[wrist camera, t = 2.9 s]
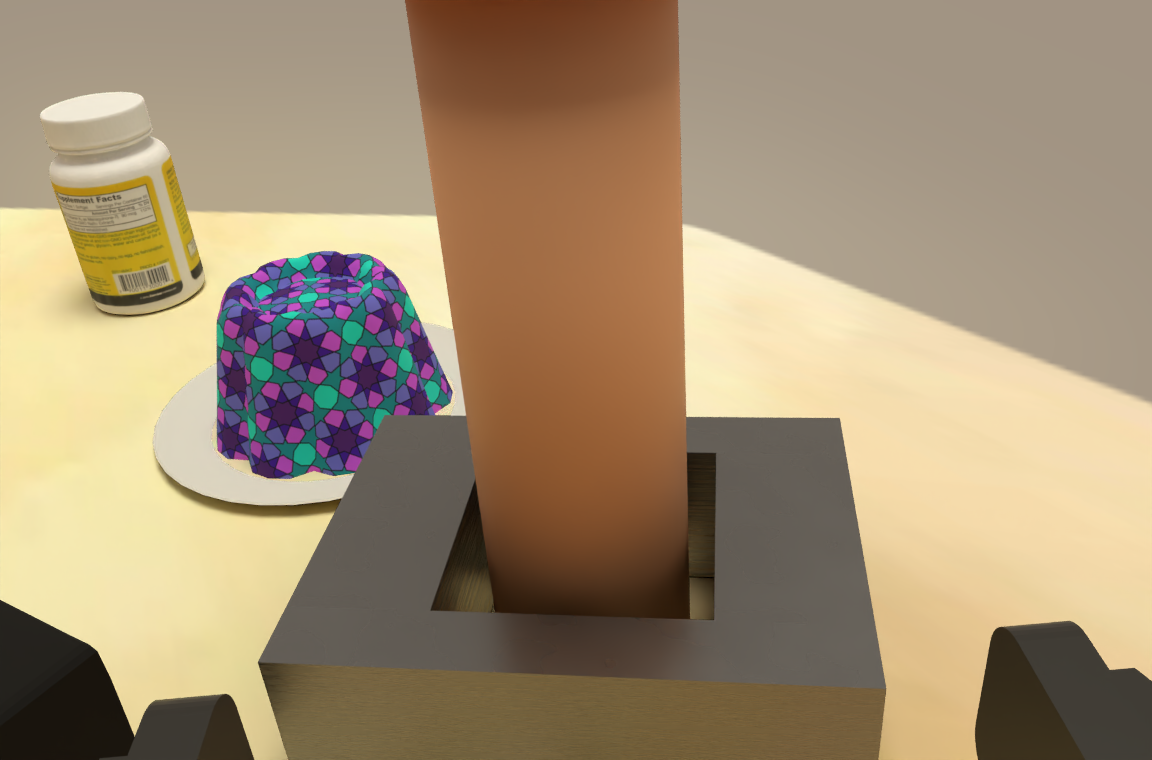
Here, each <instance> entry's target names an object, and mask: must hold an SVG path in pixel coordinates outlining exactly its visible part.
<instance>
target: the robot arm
mask: <svg viewBox="0 0 1152 760" xmlns="http://www.w3.org/2000/svg"><path fill="white" fill-rule="evenodd" d="M975 742H976V751H977V756H978V760H1152V681H1151V680H1149V679H1148V678H1147V677H1146V676H1144V675H1143V674H1142V673H1140V672H1139V671H1138V670H1137V669H1135V668H1128V669H1117V670H1109V668H1108V667H1107V665H1106V664H1105V662H1104V661H1103V659H1102V658H1101V656H1100V655H1099V653H1098V652H1097V650H1096V649H1095V647H1094V646H1093V644H1092V643H1091V641H1090V640H1089V638H1088V637H1087V635H1086V634H1085V633H1084V631H1083V630H1082V629H1081V628H1080V627H1079V626H1078V625H1077V624H1075V623H1074V622H1071V621H1063V622H1052V623H1041V624H1030V625H1018V626H1007V627H999V628H997V629H996V630H995V631H994V632H993V635H992V637H991V641H990V647H989V652H988V658H987V664H986V669H985V675H984V680H983V686H982V691H981V697H980V703H979V708H978V714H977V719H976V727H975ZM99 760H254V757H253V755H252V752H251V749H250V746H249V743H248V740H247V737H246V734H245V731H244V728H243V725H242V722H241V719H240V716H239V713H238V710H237V707H236V705H235V702H234V701H233V699H232V697H231V696H230V695H228V694H220V695H209V696H198V697H187V698H176V699H165V700H155V701H154V702H152V703H151V704H150V705H149V706H148V708H147V709H146V711H145V713H144V715H143V717H142V720H141V722H140V725H139V728H138V730H137V733H136V735H135V738H134V740H133V743H132V745H131V748H130V750H129V753H128V756H121V757H110V758H100V759H99Z"/></svg>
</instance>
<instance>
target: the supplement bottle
mask: <svg viewBox="0 0 1152 760" xmlns="http://www.w3.org/2000/svg"><path fill="white" fill-rule="evenodd" d="M40 120H41V123H42V126H43V130H44V134H45V137H46V142H47V144H48V145H49V148H50V149H51V151H53V152H55V153H58V155H57V156H56V157H55V158H54V159H53V161H52V163H51V165H50V168H49V175H50V178H51V183H52V186H53V188H54V192H55V194H56V197H57V200H58V203H59V205H60V208H61V211H62V214H63V217H64V220H65V222H66V225H67V228H68V231H69V234H70V237H71V239H72V242H73V245H74V248H75V251H76V253H77V256H78V259H79V262H80V265H81V268H82V271H83V273H84V276H85V279H86V282H87V284H88V287H89V290H90V293H91V296H92V298H93V301H94V303H95V304H96V306H97V307H98V308H99V309H101V310H103V311H105V312H108V313H113V314H124V315H134V314H145V313H151V312H155V311H159V310H163V309H166V308H169V307H172V306H174V305H176V304H179V303H181V302H182V301H184V300H186V299H188V298H189V297H190V296H192V295H193V294H195V293H196V292H197V291H198V290H199V289H200V288H201V286H202V285H203V283H204V279H205V275H204V271H203V267H202V263H201V260H200V257H199V253H198V250H197V246H196V243H195V240H194V236H193V232H192V229H191V225H190V222H189V219H188V215H187V212H186V208H185V205H184V201H183V197H182V194H181V191H180V187H179V184H178V181H177V177H176V173H175V170H174V166H173V162H172V159H171V156H170V153H169V151H168V149H167V147H166V146H165V145H164V144H163V143H162V142H161V141H160V140H158V139H156V138H154V137H151V136H149V135H150V134H151V133H152V131H153V128H152V126H151V121H150V117H149V114H148V110H147V107H146V104H145V101H144V98H143V97H142V96H141V95H139V94H136V93H130V92H110V93H97V94H91V95H86V96H80V97H76V98H72V99H69V100H65V101H62V102H59V103H57V104H54V105H52V106H50V107H48V108H46V109H45V110H43V111H42V112H41V114H40Z"/></svg>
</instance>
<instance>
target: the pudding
mask: <svg viewBox="0 0 1152 760" xmlns="http://www.w3.org/2000/svg"><path fill="white" fill-rule="evenodd" d="M444 372H445V373H446V375H447V376H448V377H449V379H450V380H451V381H452V383H453V386H454V389H455V405H454V407H453V410H452V413H451V415H450V416H466V411H465V405H464V398H463V391H462V384H461V377H460V371H459V364H458V357H457V350H456V343H455V337H454V330H453V329H449V328H446V327H442V326H439V325H435V324H429V323H422V322H420V319H419V317H418V315H417V313H416V311H415V308H414V306H413V304H412V302H411V300H410V298H409V295H408V293H407V291H406V289H405V287H404V286H403V284H402V283H401V281H400V280H399V278H398V277H397V276H396V275H395V274H394V272H393V271H391V270H389V269H388V268H387V267H386V266H385V265H384V264H383V263H382V262H381V261H380V260H378V259H376V258H374V257H372V256H370V255H365V254H359V253H357V254H347V255H343V254H341V253H338V252H336V251H322V252H315V253H309V254H307V255H304V256H302V257H299V258H285V259H280V260H276V261H272V262H270V263H267V264H265V265H263V266H261V267H259V269H258V270H257V271H256V272H255V273H253V274H250V275H247V276H244V277H241V278H239V279H238V280H236V281H235V282H233V283H232V284H231V285H230V286H229V287H228V288H227V290H226V292H225V294H224V296H223V299H222V302H221V307H220V311H219V314H218V318H217V363H216V364H214V365H212V366H210V367H209V368H207V369H206V370H204V371H203V372H202V373H200V374H199V375H197V376H196V377H194V378H193V379H192V380H190V381H189V382H188V383H187V384H186V385H185V386H184V387H183V388H182V389H180V390H179V391H178V392H177V393H176V394H175V395H174V396H173V398H172V399H171V400H170V401H169V403H168V404H167V405H166V407H165V408H164V409H163V410H162V413H161V415H160V417H159V419H158V421H157V423H156V425H155V430H154V437H153V447H154V451H155V455H156V459H157V460H158V462H159V463H160V465H161V466H162V468H163V469H164V471H165V472H166V473H167V474H168V475H169V476H171V477H172V478H173V479H174V480H176V481H177V482H178V483H179V484H181V485H182V486H185V487H187V488H189V489H191V490H193V491H195V492H198V493H200V494H202V495H205V496H209V497H213V498H217V499H221V500H225V501H228V502H236V503H245V504H254V505H298V504H306V503H315V502H324V501H331V500H336V499H340V498H342V497H343V495H344V493H345V491H346V490H347V488H348V486H349V484H350V482H351V480H352V478H353V476H354V474H353V475H349V476H344V477H339V478H335V479H327V480H318V481H298V482H287V481H277V480H267V479H263V478H259V477H255V476H251V475H248V474H245V473H243V472H241V471H238V470H236V469H234V468H232V467H231V466H230V465H228V464H227V463H225V462H224V461H223V460H222V459H221V458H220V457H219V455H218V454H217V453H216V451H215V449H214V446H213V443H212V429H213V426H214V423H215V420H216V418H217V447H218V451H219V452H220V453H221V454H223V455H224V456H225V457H226V458H227V459H241V460H249V461H250V465H251V469H252V472H253V473H255V474H258V475H261V476H264V477H266V478H278V479H291V478H294V477H297V476H300V475H303V474H306V473H309V472H312V471H317V472H321V473H324V474H328V475H332V476H337V475H344V474H351V473H355V472H356V470H357V468H358V466H359V464H360V462H361V460H362V458H363V456H364V454H365V452H366V451H367V449H368V447H369V445H370V443H371V441H372V439H373V437H374V435H375V433H376V431H377V429H378V427H379V425H380V423H381V421H382V419H383V417H384V415H435V413H436V412H437V411H439V410H440V409H442V408H443V407H445V406H446V405H448V404H449V403H450V401H451V397H452V393H453V392H452V390H451V387H450V385H449V383H448V381H447V379H446V376H445V374H444Z"/></svg>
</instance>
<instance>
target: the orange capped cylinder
mask: <svg viewBox="0 0 1152 760" xmlns="http://www.w3.org/2000/svg"><path fill="white" fill-rule="evenodd" d="M405 3H406V10H407V17H408V23H409V30H410V37H411V44H412V51H413V57H414V64H415V71H416V78H417V84H418V92H419V98H420V105H421V111H422V119H423V125H424V132H425V139H426V146H427V153H428V160H429V166H430V173H431V180H432V186H433V193H434V200H435V207H436V214H437V221H438V228H439V234H440V241H441V248H442V255H443V262H444V269H445V275H446V282H447V289H448V296H449V303H450V309H451V316H452V323H453V330H454V337H455V343H456V350H457V357H458V364H459V371H460V377H461V384H462V391H463V398H464V405H465V411H466V418H467V425H468V432H469V439H470V445H471V452H472V459H473V466H474V473H475V479H476V486H477V493H478V500H479V507H480V513H481V520H482V527H483V534H484V541H485V547H486V554H487V561H488V568H489V575H490V581H491V588H492V595H493V602H494V609H495V613H515V614H544V615H574V616H603V617H632V618H662V619H690V595H689V544H688V493H687V442H686V391H685V340H684V290H683V239H682V189H681V137H680V89H679V87H680V86H679V37H678V36H679V35H678V0H405Z"/></svg>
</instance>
